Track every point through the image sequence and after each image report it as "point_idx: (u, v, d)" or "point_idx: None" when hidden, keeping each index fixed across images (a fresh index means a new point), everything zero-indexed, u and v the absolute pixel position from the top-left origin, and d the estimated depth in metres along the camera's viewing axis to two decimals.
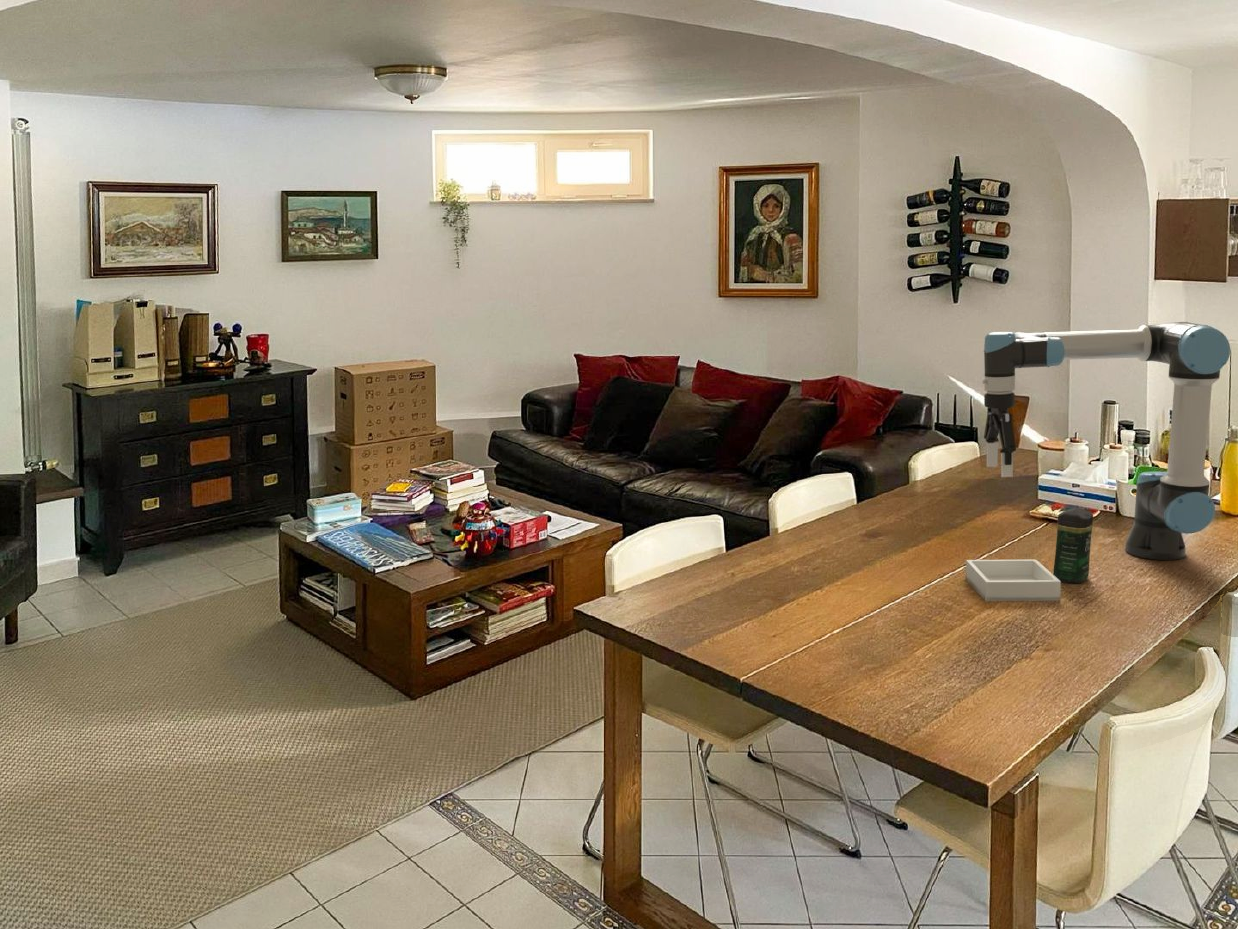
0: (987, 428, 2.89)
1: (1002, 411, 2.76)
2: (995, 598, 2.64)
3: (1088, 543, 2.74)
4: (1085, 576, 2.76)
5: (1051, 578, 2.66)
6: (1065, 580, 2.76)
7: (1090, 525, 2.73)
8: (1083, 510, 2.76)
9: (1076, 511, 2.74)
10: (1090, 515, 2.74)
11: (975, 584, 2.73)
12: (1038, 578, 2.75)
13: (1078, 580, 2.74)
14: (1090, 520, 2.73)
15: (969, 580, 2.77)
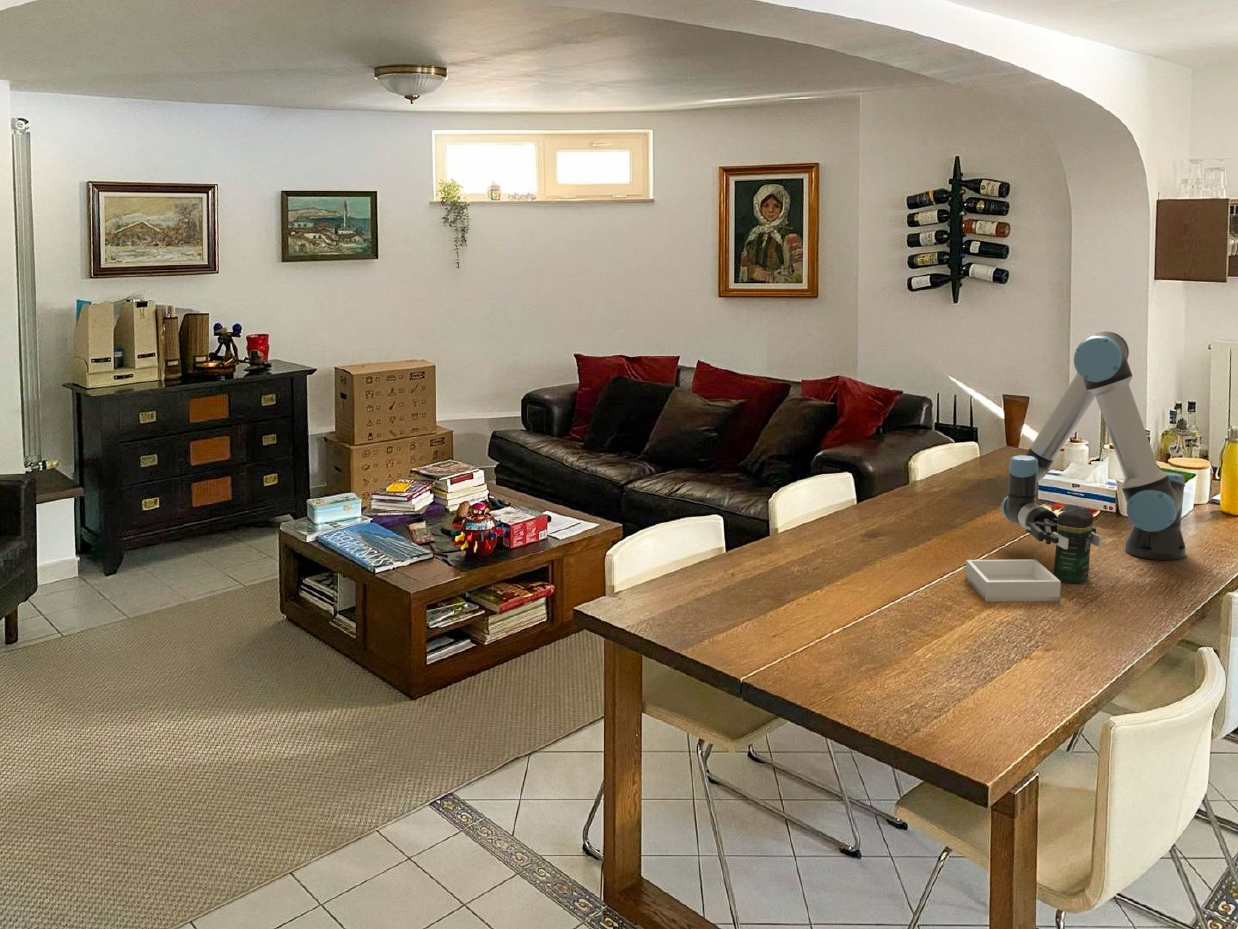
0: None
1: None
2: (995, 598, 2.64)
3: (1088, 543, 2.74)
4: (1085, 576, 2.76)
5: (1051, 578, 2.66)
6: (1065, 580, 2.76)
7: (1090, 525, 2.73)
8: (1083, 510, 2.76)
9: (1076, 511, 2.74)
10: (1090, 515, 2.74)
11: (975, 584, 2.73)
12: (1038, 578, 2.75)
13: (1078, 580, 2.74)
14: (1090, 520, 2.73)
15: (969, 580, 2.77)
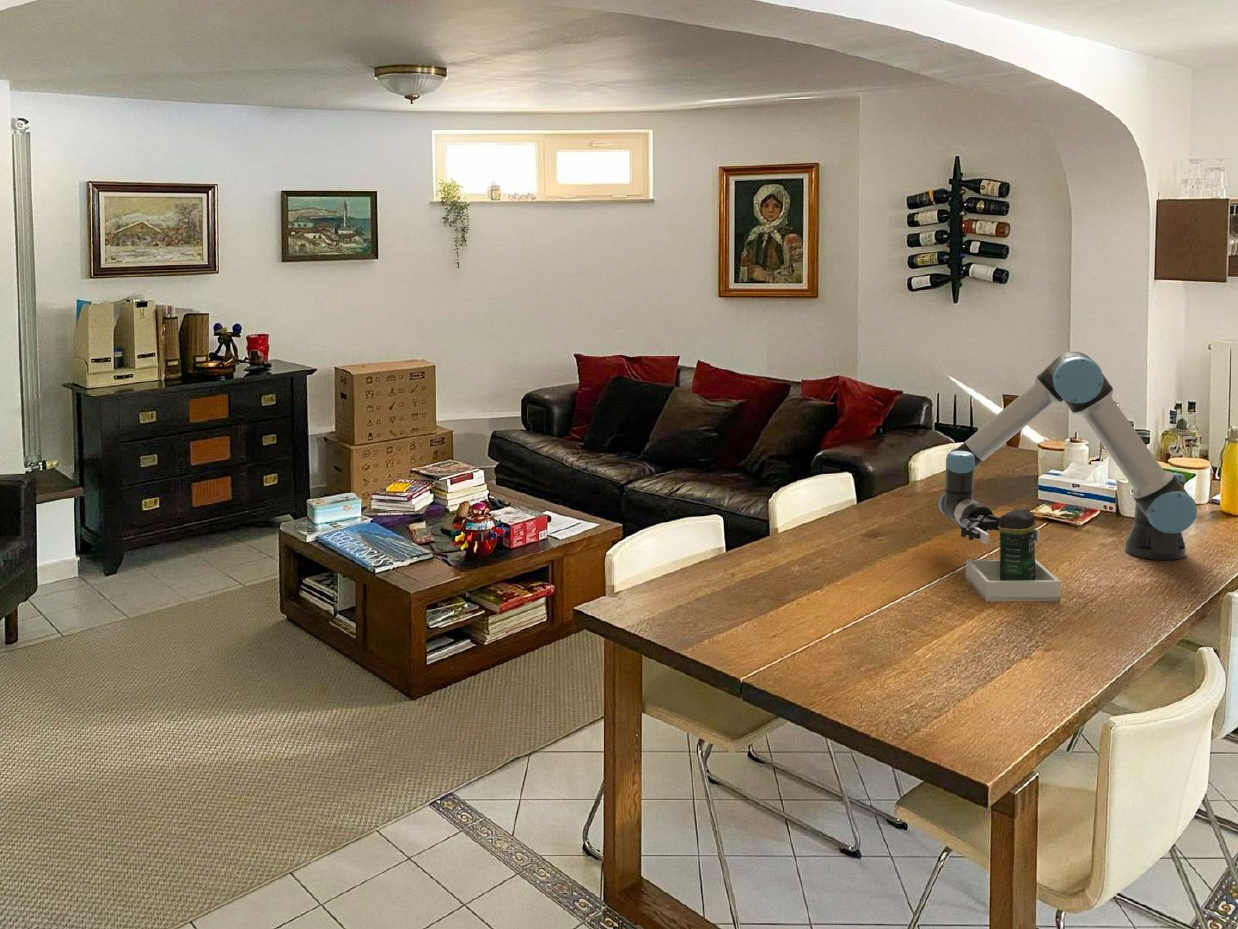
0: None
1: None
2: (995, 598, 2.64)
3: (1031, 544, 2.69)
4: (1032, 578, 2.70)
5: (1051, 578, 2.66)
6: None
7: (1031, 526, 2.68)
8: (1024, 511, 2.71)
9: (1016, 512, 2.69)
10: (1031, 515, 2.70)
11: (975, 584, 2.73)
12: (1038, 578, 2.75)
13: None
14: (1031, 520, 2.68)
15: (969, 580, 2.77)
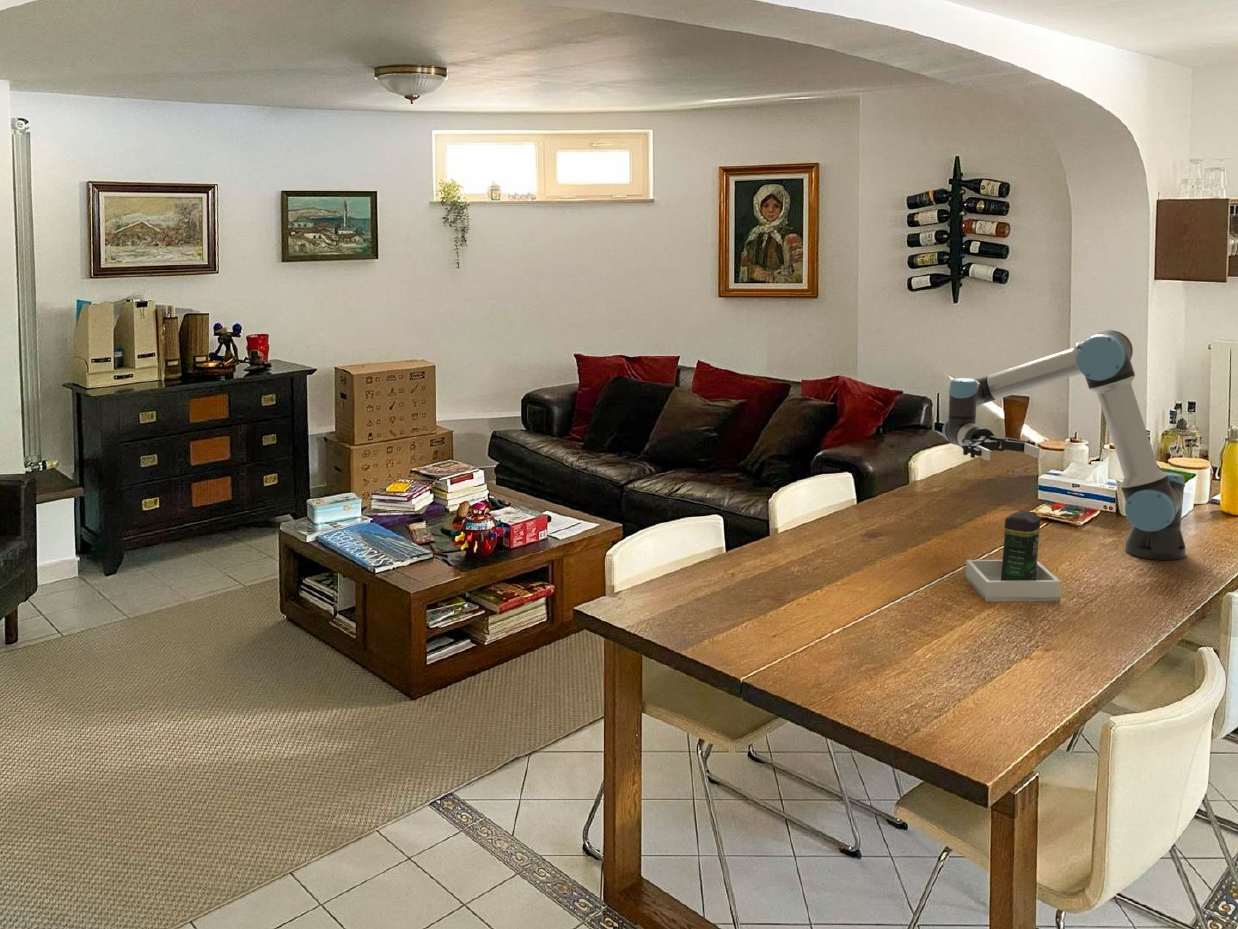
0: None
1: None
2: (995, 598, 2.64)
3: (1035, 547, 2.69)
4: None
5: (1051, 578, 2.66)
6: None
7: (1037, 529, 2.68)
8: (1030, 513, 2.70)
9: (1023, 514, 2.69)
10: (1037, 518, 2.69)
11: (975, 584, 2.73)
12: (1038, 578, 2.75)
13: None
14: (1037, 523, 2.68)
15: (969, 580, 2.77)
